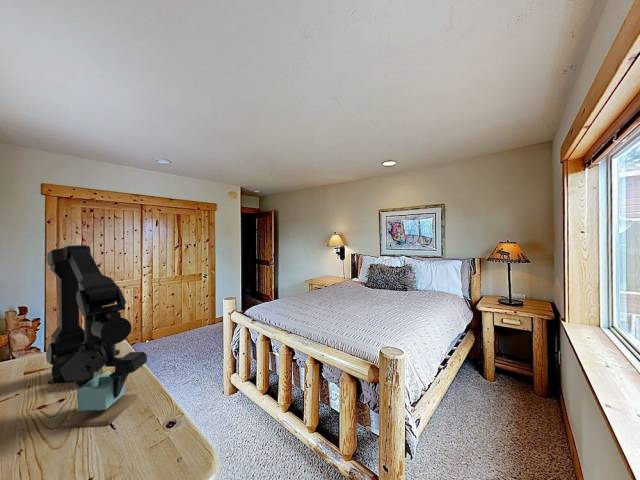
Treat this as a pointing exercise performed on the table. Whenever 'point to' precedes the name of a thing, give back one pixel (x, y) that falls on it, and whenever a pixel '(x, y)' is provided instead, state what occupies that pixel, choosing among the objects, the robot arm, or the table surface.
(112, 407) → the post plate
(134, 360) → the robot arm
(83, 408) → the collar
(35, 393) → the table surface
